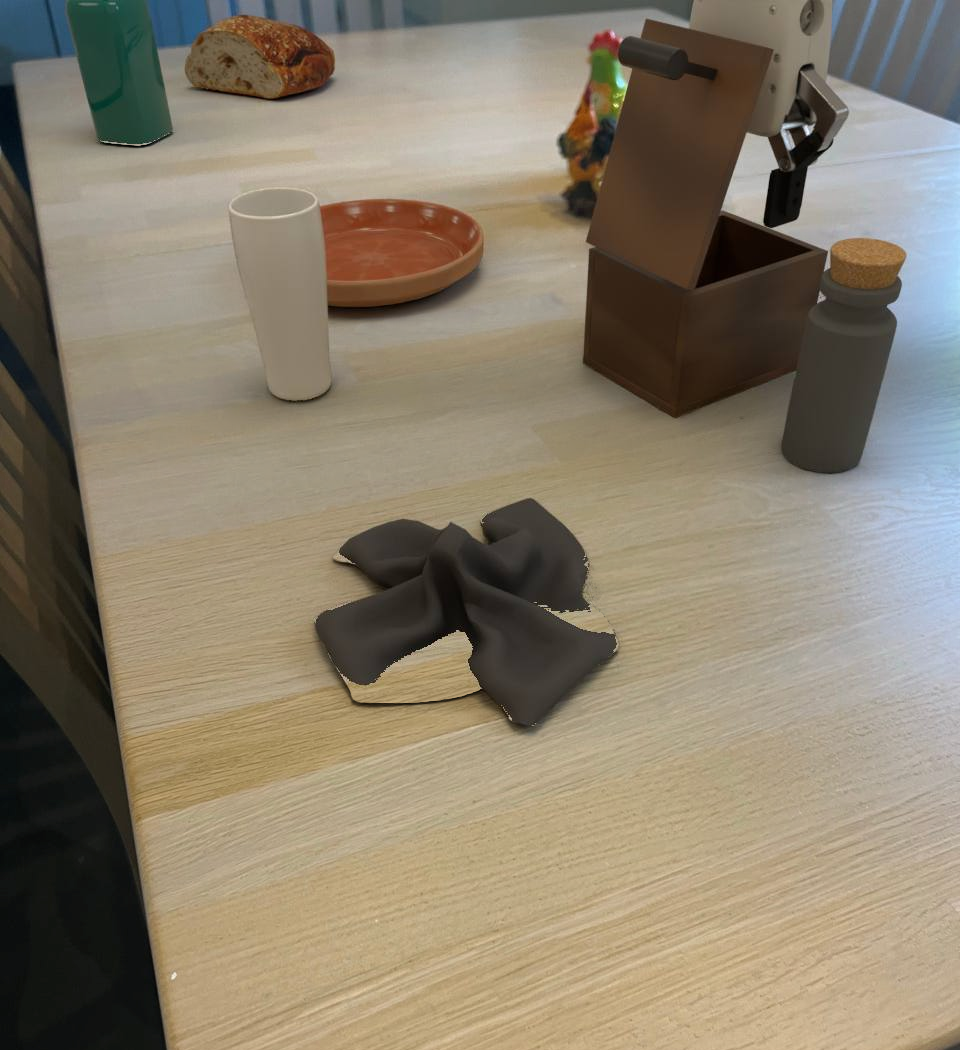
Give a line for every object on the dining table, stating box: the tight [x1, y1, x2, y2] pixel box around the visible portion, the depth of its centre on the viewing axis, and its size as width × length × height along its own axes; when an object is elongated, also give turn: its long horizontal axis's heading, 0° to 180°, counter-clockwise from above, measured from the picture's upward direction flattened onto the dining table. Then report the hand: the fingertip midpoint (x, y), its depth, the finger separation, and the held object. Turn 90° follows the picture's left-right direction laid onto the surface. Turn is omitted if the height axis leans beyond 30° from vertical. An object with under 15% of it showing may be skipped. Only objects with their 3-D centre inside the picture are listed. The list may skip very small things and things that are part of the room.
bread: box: [184, 14, 336, 99], centre depth 156 cm, size 20×18×10 cm
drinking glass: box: [227, 186, 333, 402], centre depth 79 cm, size 7×7×15 cm
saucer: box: [319, 198, 485, 308], centre depth 101 cm, size 23×23×4 cm
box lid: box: [585, 18, 774, 290], centre depth 71 cm, size 15×12×6 cm
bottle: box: [780, 237, 907, 474], centre depth 70 cm, size 6×6×15 cm
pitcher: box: [64, 0, 174, 144], centre depth 132 cm, size 10×8×22 cm
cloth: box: [314, 497, 617, 727], centre depth 61 cm, size 22×19×6 cm
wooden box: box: [582, 209, 829, 418], centre depth 83 cm, size 15×12×10 cm
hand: (733, 206), depth 78 cm, fingers open, 9 cm apart
